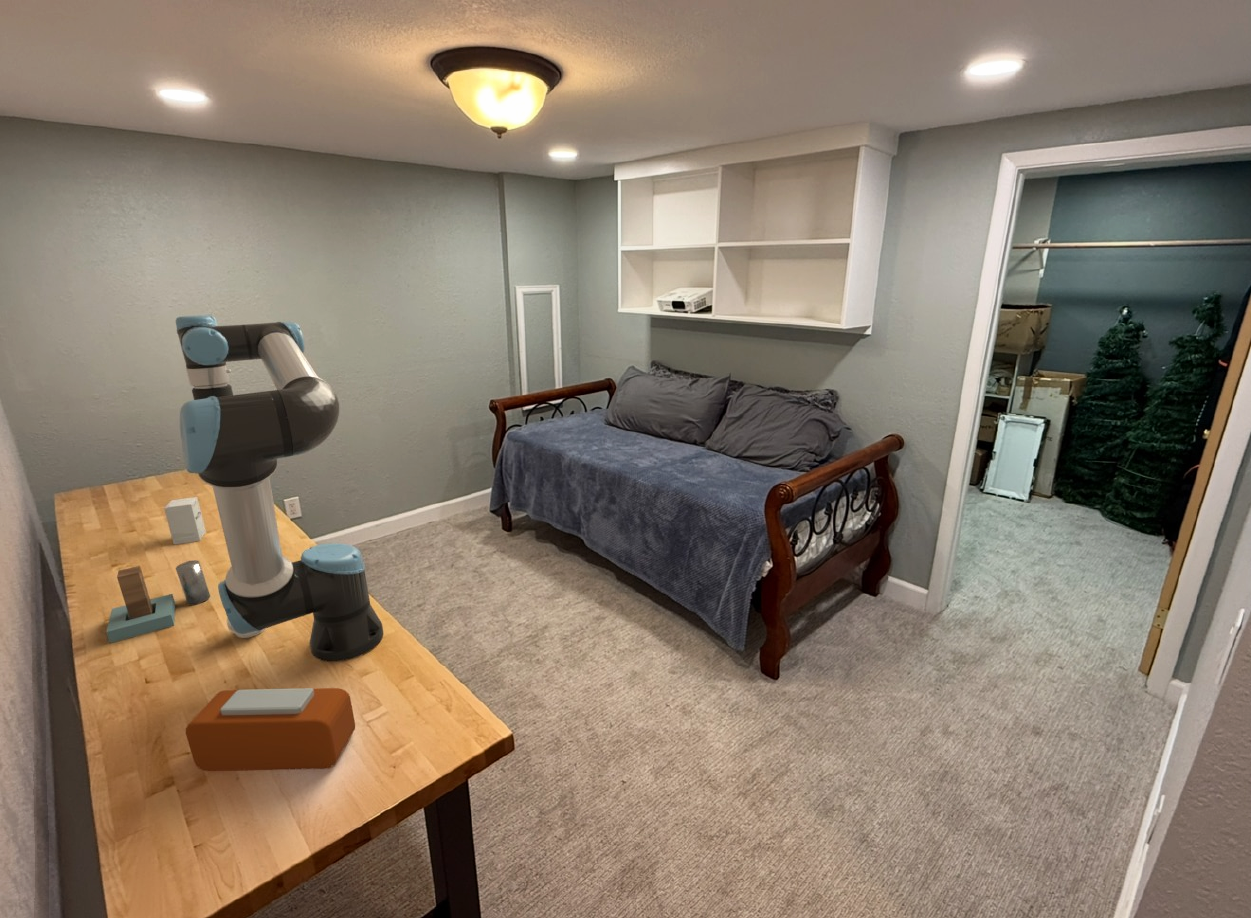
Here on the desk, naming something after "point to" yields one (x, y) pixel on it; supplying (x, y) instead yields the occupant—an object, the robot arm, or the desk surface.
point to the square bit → (134, 592)
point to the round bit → (193, 582)
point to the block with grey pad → (271, 729)
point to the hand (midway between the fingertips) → (231, 474)
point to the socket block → (141, 620)
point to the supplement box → (185, 520)
